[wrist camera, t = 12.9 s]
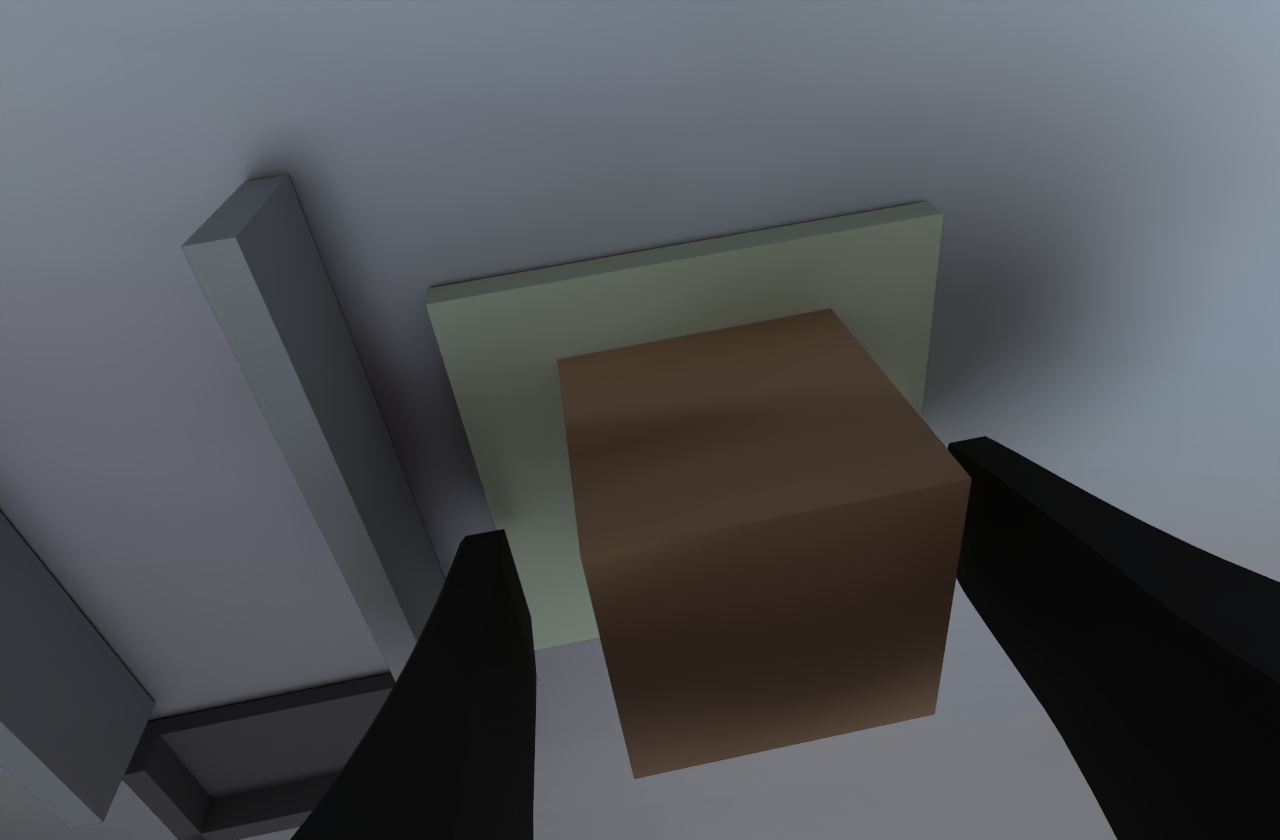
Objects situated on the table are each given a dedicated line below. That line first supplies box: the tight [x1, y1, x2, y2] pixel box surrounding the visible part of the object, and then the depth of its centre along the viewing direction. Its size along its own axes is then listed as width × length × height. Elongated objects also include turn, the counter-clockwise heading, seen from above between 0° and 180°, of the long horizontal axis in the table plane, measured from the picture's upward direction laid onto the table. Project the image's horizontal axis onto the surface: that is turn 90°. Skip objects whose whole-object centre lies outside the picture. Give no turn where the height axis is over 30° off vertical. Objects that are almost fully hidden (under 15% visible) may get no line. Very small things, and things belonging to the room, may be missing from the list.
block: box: [557, 308, 972, 779], centre depth 12 cm, size 4×4×4 cm
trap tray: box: [122, 673, 396, 840], centre depth 17 cm, size 3×7×1 cm, turn 97°
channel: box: [0, 174, 445, 829], centre depth 12 cm, size 10×7×2 cm
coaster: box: [426, 201, 944, 651], centre depth 14 cm, size 8×8×1 cm
